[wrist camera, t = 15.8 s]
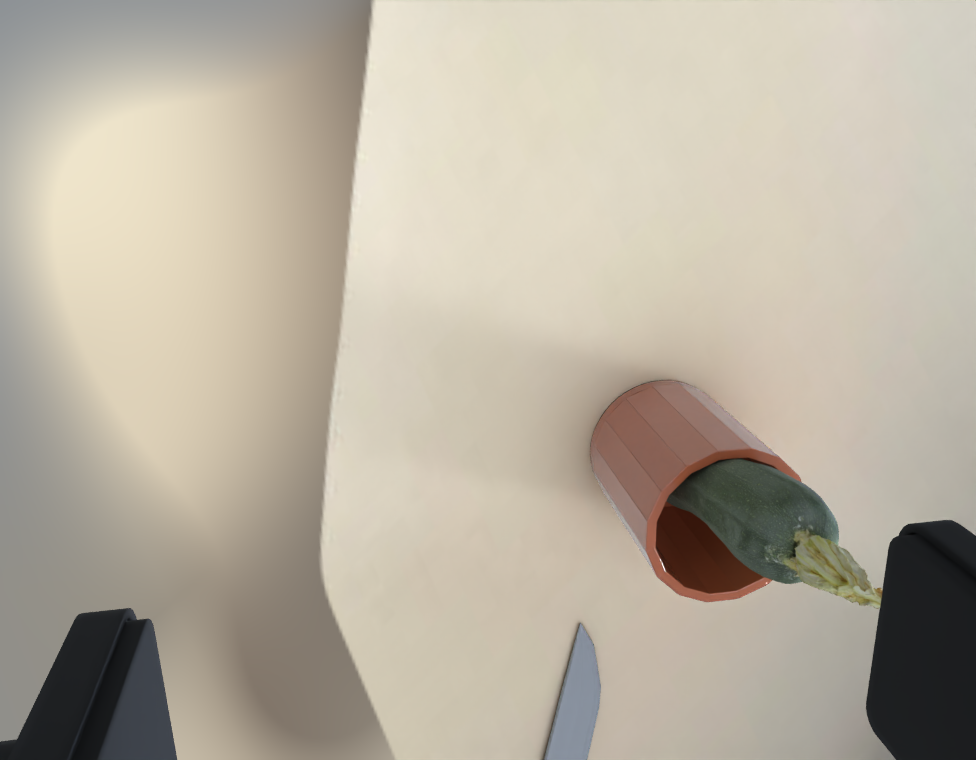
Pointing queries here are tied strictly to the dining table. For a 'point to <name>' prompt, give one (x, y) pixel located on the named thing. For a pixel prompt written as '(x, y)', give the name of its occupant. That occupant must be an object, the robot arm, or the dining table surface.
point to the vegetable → (774, 527)
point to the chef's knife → (576, 704)
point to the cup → (674, 482)
